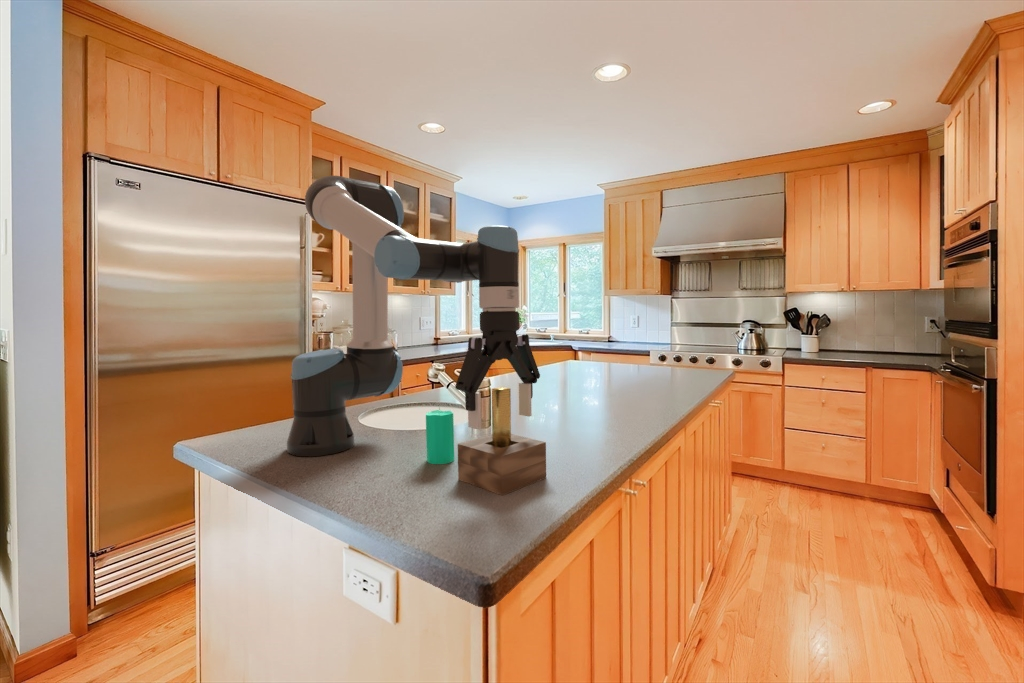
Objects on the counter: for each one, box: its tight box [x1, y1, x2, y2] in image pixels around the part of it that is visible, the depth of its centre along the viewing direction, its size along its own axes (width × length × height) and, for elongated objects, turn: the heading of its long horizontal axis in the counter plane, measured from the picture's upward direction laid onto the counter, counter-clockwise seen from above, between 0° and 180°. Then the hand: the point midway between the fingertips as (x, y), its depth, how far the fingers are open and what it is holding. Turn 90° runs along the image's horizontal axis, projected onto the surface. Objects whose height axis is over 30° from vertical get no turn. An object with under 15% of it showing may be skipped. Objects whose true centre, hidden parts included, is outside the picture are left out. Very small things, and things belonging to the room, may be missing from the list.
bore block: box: [457, 433, 547, 496], centre depth 93 cm, size 12×12×7 cm
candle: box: [425, 405, 455, 465], centre depth 106 cm, size 6×6×12 cm
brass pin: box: [491, 386, 512, 448], centre depth 93 cm, size 4×4×14 cm
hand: (501, 421), depth 93 cm, fingers open, 13 cm apart
